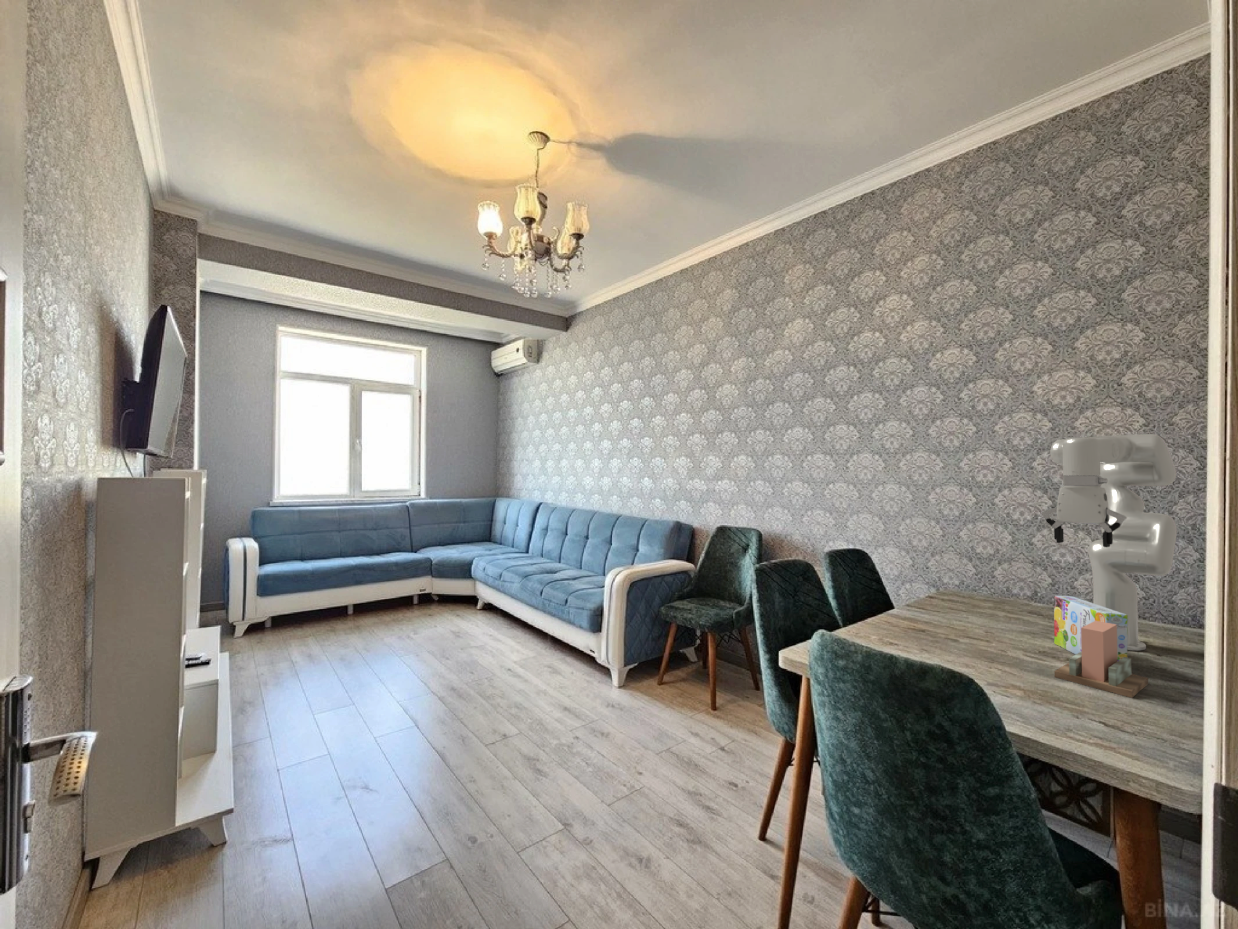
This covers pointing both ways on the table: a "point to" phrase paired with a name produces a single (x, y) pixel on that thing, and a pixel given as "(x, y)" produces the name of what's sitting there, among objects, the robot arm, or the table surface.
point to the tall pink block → (1098, 649)
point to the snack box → (1085, 623)
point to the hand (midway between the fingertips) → (1082, 544)
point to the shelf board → (1117, 682)
